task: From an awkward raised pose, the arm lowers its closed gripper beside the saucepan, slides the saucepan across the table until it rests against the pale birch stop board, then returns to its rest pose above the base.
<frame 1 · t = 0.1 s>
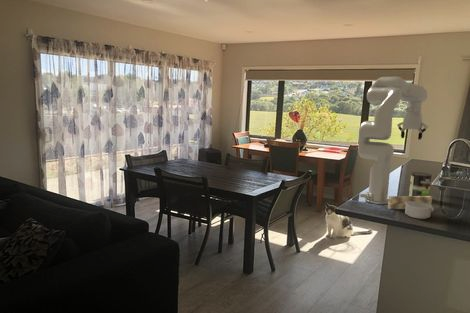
hand: (411, 138, 224), 31 cm above the table, tool pointing down, fingers open, 9 cm apart
stop board: (409, 208, 185), on the table
saucepan: (427, 218, 170), on the table
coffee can: (418, 199, 205), on the table
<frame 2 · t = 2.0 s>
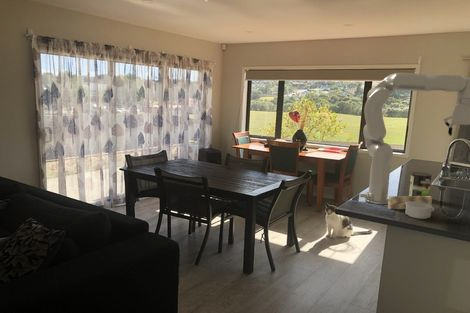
hand: (461, 136, 188), 36 cm above the table, tool pointing down, fingers open, 9 cm apart
nothing on the table moved.
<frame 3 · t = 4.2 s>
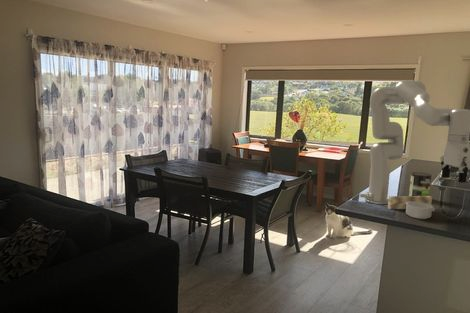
hand: (453, 179, 155), 21 cm above the table, tool pointing down, fingers open, 9 cm apart
nothing on the table moved.
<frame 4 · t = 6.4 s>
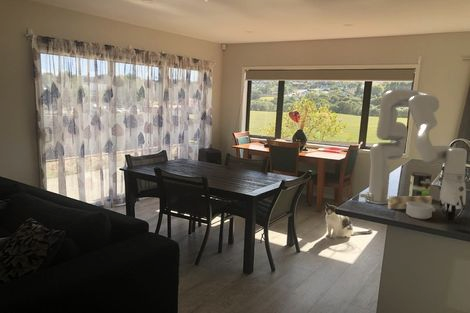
hand: (449, 219, 156), 3 cm above the table, tool pointing down, fingers closed
nothing on the table moved.
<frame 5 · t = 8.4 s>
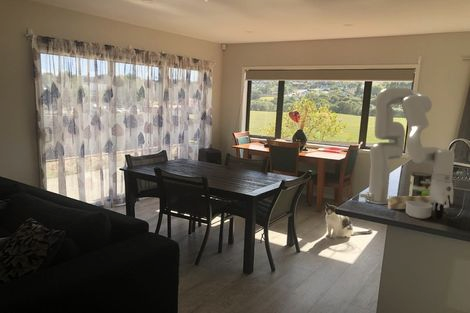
hand: (438, 218, 164), 2 cm above the table, tool pointing down, fingers closed
saucepan: (428, 217, 171), on the table, touching gripper
everything else where it was.
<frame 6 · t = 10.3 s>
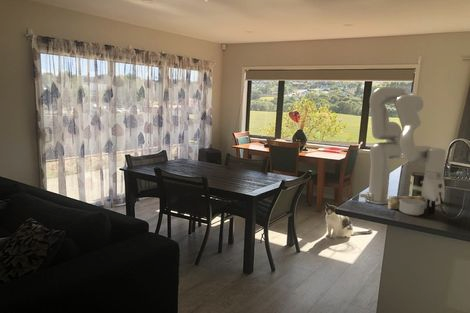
hand: (429, 214, 169), 2 cm above the table, tool pointing down, fingers closed
saucepan: (420, 214, 176), on the table
everything else where it was.
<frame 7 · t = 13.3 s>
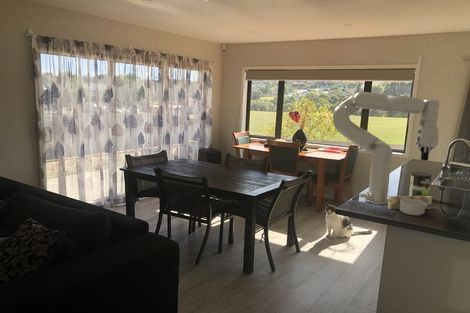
hand: (424, 160, 188), 24 cm above the table, tool pointing down, fingers closed
nothing on the table moved.
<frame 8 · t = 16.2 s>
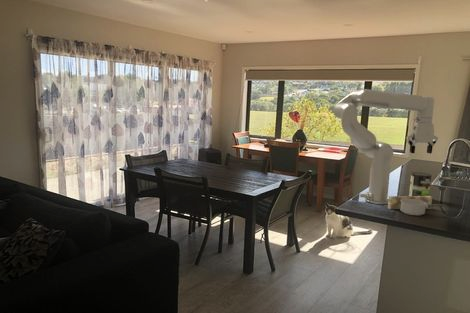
hand: (420, 153, 195), 26 cm above the table, tool pointing down, fingers open, 9 cm apart
nothing on the table moved.
at the end: saucepan 1.4 cm from the target spot on the table beside the stop board, on the table; saucepan tilted 0°; saucepan moved 5.7 cm from its start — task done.
